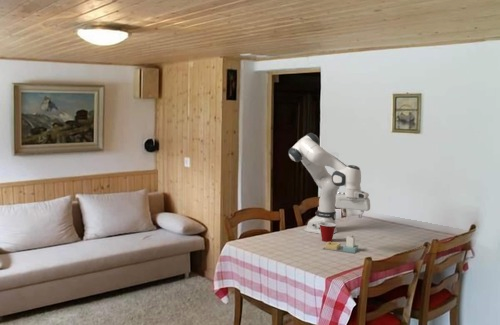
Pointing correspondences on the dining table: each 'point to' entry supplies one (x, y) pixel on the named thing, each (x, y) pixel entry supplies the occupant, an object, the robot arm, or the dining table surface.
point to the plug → (350, 241)
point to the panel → (340, 248)
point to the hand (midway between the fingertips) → (352, 216)
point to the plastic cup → (327, 231)
